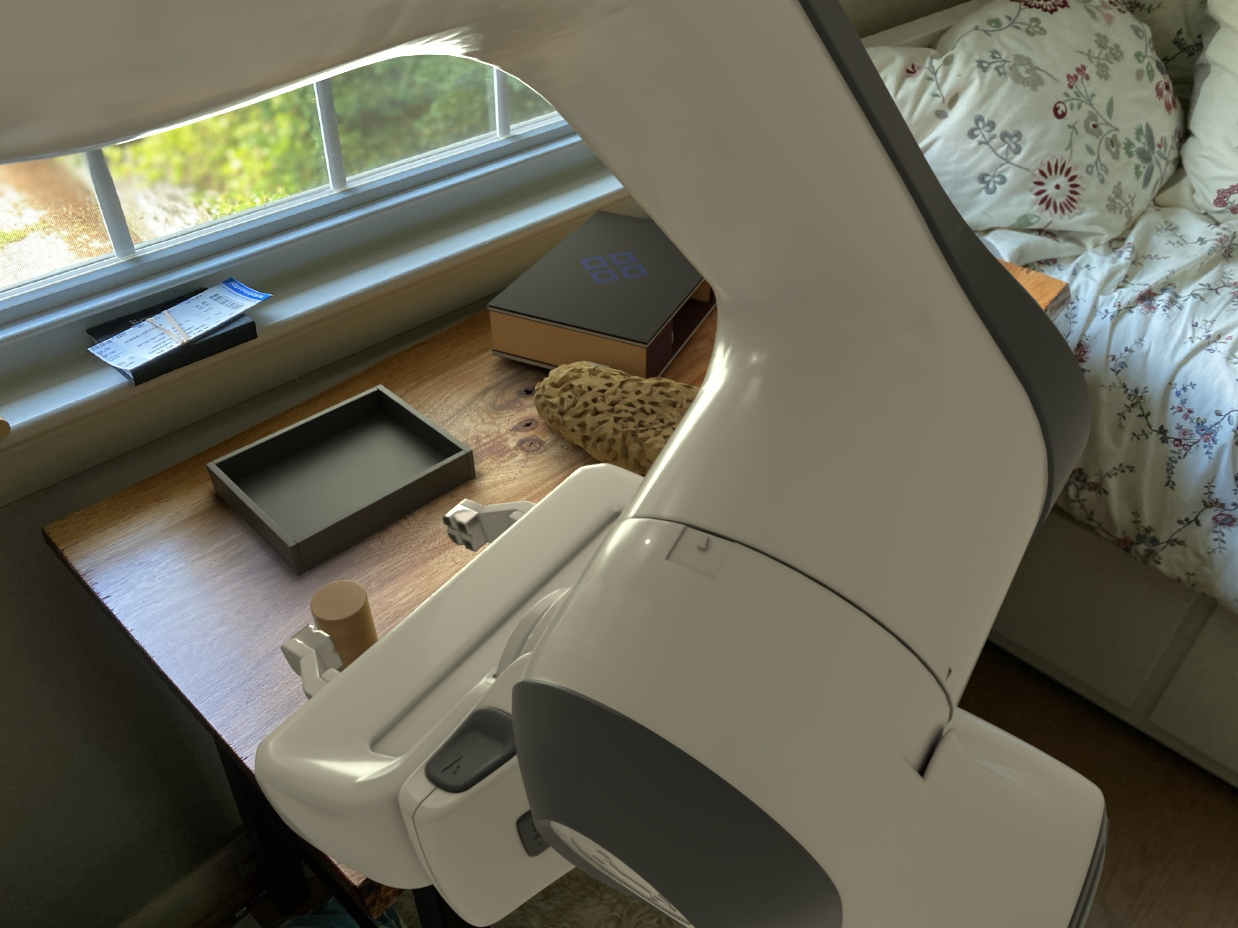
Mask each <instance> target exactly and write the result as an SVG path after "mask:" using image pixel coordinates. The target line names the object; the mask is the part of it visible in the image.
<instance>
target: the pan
mask: <svg viewBox="0 0 1238 928" xmlns="http://www.w3.org/2000/svg"><path fill="white" fill-rule="evenodd" d="M205 468H206V471H207V472H208V476H209V478H210V481H211V485H212V487H213V490H214V492H215V493H216V494H217V495H218V496H219V497H220V499H222V500H223V501H224V503H226V504H227V505H228V507H230V508H231V509H232V510H233V511H234V512H235V514H237V515H238V516H239V517H240V518H241V520H242V521H244V522H245V523H246V525H248V526H249V528H250V529H252V531H253V532H254V533H255V534H256V535H257V536H258V537H259V538H260V539H262V541H263V542H264V543H265V544H266V545H267V546H268V547H269V548H270V549H271V550H272V551H273V552H274V553H275V554H276V555H277V556H278V557H279V558H280V559H281V560H282V561H283V562H284V563H285V564H286V565H287V566H288V567H289V568H290V569H291V570H292V571H293V572H294V573H295V575H297V576H301V575H302V574H304V573H306V572H308V571H310V570H311V569H314V568H315V567H317V566H319V565H321V564H322V563H324V562H326V561H328V560H330V559H331V558H333V557H335V556H337V555H338V554H340V553H341V552H344V551H345V550H347V549H349V548H351V547H353V546H355V545H356V544H359V543H360V542H362V541H364V540H366V539H368V538H369V537H371V536H373V535H374V534H376V533H379V532H380V531H382V530H383V529H385V528H387V527H389V526H390V525H393V524H394V523H396V522H397V521H400V520H401V519H403V518H405V517H407V516H408V515H410V514H412V513H414V512H417V510H419V509H421V508H423V507H424V506H426V505H429V504H430V503H432V502H434V501H435V500H438V499H439V498H441V497H443V496H444V495H447V494H448V493H450V492H451V491H453V490H455V489H457V488H459V487H461V486H463V485H464V484H466V483H468V482H469V481H470V482H471V480H473V479H475V478H476V477H477V475H476V474H477V473H476V467H475V458H474V451H473V449H472V448H470V447H469V446H467V444H464V443H463V442H462V441H461V440H459V439H458V438H457V437H456V436H454V435H452V434H451V433H450V432H448V431H447V430H445V429H444V428H442V427H441V426H440V425H438V424H437V423H435V421H433V420H431V418H429V417H427V416H426V415H425V414H423V413H422V412H420V411H419V410H417V409H416V408H415V407H413V406H411V404H409V403H408V402H406V401H405V400H404V399H401V397H400V396H398V395H396V394H395V393H394V392H392V391H390V390H389V388H386V387H385V386H384V385H382V384H378V385H376V386H374V387H371V388H369V389H367V390H365V391H362V392H361V393H359V394H356V395H354V396H352V397H349V398H347V399H345V400H343V401H341V402H339V403H337V404H334V405H332V406H330V407H328V408H325V409H323V410H321V411H319V412H317V413H315V414H312V415H310V416H308V417H306V418H304V419H301V420H300V421H297V422H295V423H293V424H290V425H289V426H287V427H284V428H281V429H279V430H277V431H276V432H273V433H271V434H268V435H267V436H264V437H262V438H260V439H257V440H256V441H254V442H252V443H249V444H247V445H244V446H242V447H240V448H238V449H236V450H234V451H231V452H229V453H227V454H225V455H223V456H221V457H219V458H216V459H214V460H213V461H210V462H207V463H205Z"/></svg>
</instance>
